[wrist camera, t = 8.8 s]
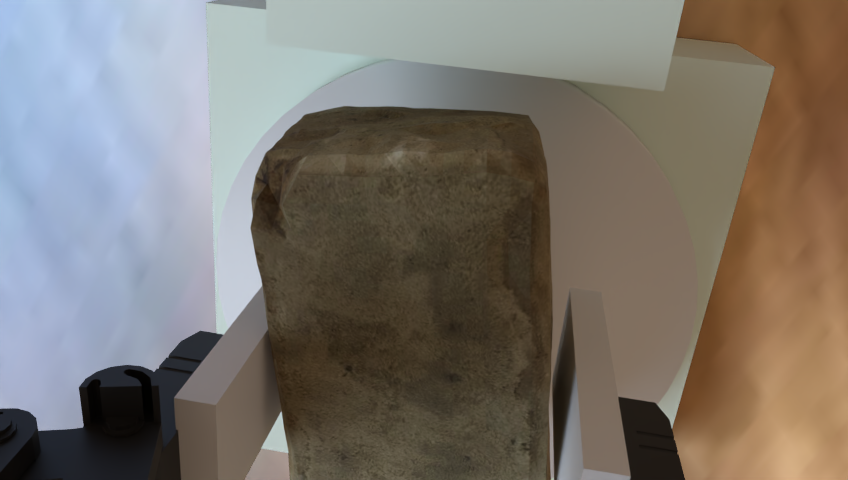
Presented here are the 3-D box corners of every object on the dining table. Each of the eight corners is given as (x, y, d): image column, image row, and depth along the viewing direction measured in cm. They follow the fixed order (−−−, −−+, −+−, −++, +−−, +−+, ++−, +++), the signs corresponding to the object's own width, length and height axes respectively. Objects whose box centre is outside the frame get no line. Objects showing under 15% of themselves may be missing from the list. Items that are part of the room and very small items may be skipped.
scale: (257, -98, 22) (93, -112, 14) (760, -49, 21) (901, -33, 13) (259, 377, 29) (151, 550, 21) (633, 439, 28) (671, 651, 20)
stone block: (549, 83, 16) (553, 146, 12) (554, 489, 21) (559, 649, 16) (298, 96, 17) (212, 159, 12) (355, 481, 21) (307, 631, 17)
